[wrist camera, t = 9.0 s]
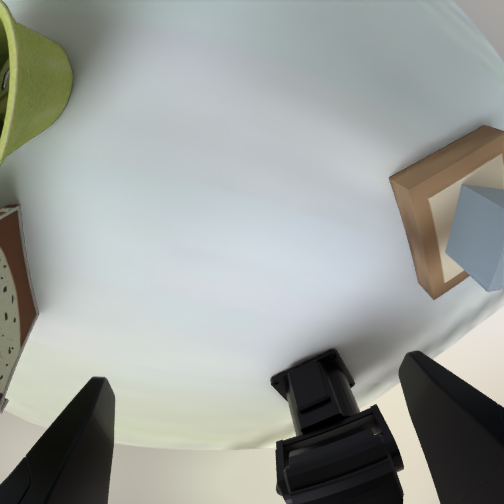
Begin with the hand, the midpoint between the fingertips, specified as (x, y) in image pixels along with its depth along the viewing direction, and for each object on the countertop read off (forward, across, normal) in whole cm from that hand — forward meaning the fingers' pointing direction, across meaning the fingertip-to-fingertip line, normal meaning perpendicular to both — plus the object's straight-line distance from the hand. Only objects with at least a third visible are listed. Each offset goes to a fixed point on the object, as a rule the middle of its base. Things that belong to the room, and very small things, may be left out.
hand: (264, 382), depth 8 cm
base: (+12, -17, -1) cm, 21 cm away
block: (+10, -17, -1) cm, 20 cm away
